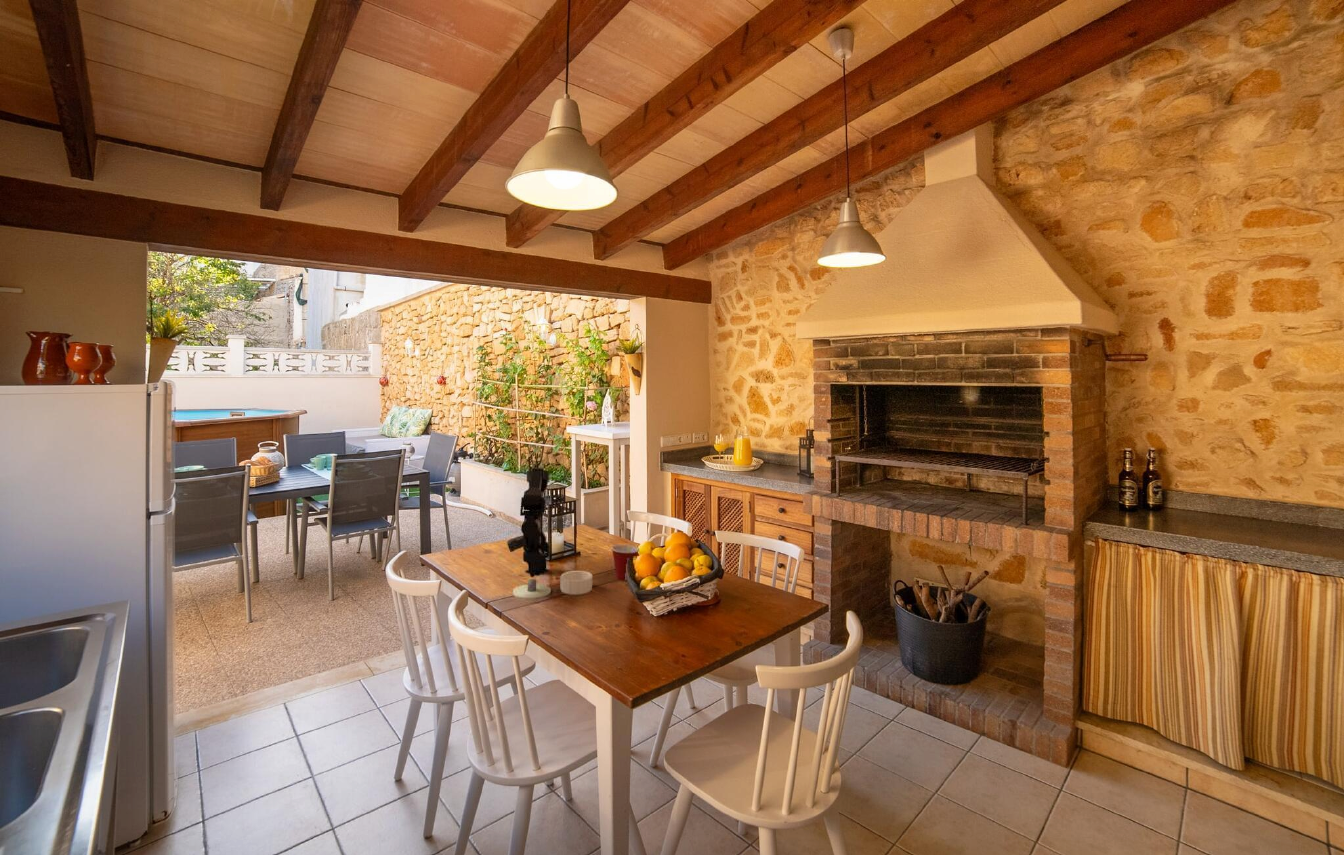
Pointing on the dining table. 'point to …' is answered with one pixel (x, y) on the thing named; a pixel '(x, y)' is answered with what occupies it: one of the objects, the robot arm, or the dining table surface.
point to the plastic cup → (622, 558)
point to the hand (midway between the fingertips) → (532, 572)
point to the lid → (531, 590)
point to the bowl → (576, 582)
